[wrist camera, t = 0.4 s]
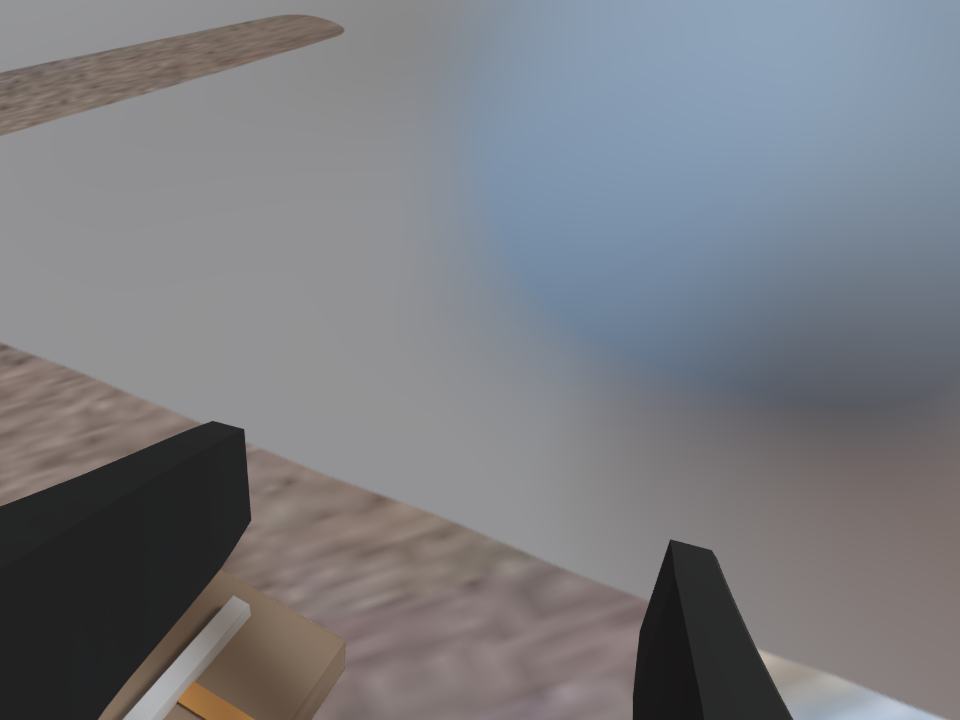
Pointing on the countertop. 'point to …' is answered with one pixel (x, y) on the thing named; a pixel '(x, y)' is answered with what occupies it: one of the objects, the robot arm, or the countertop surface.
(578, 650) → the countertop surface
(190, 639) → the tan slider track board
